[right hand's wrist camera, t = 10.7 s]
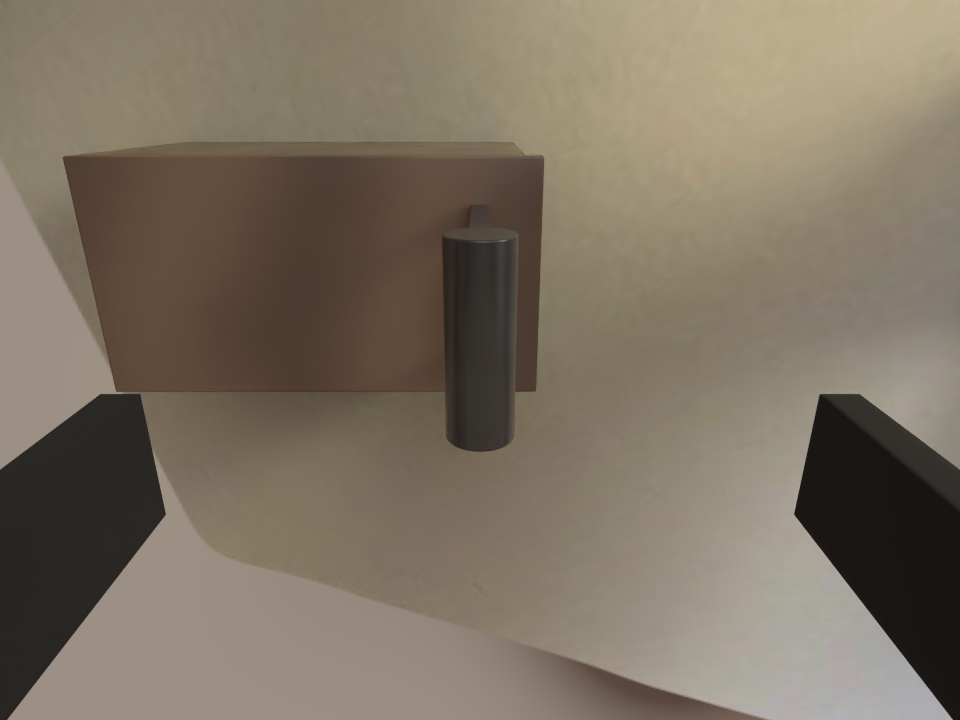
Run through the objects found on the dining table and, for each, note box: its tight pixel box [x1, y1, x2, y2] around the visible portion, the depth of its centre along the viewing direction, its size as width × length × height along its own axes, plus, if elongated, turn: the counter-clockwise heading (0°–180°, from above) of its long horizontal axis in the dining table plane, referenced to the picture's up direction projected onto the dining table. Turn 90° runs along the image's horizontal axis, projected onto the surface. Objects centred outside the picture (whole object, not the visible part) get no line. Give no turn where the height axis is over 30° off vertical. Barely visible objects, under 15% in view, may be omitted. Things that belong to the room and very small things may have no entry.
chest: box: [81, 142, 525, 155], centre depth 30 cm, size 17×10×9 cm, turn 90°
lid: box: [63, 155, 544, 452], centre depth 22 cm, size 18×10×9 cm, turn 90°
